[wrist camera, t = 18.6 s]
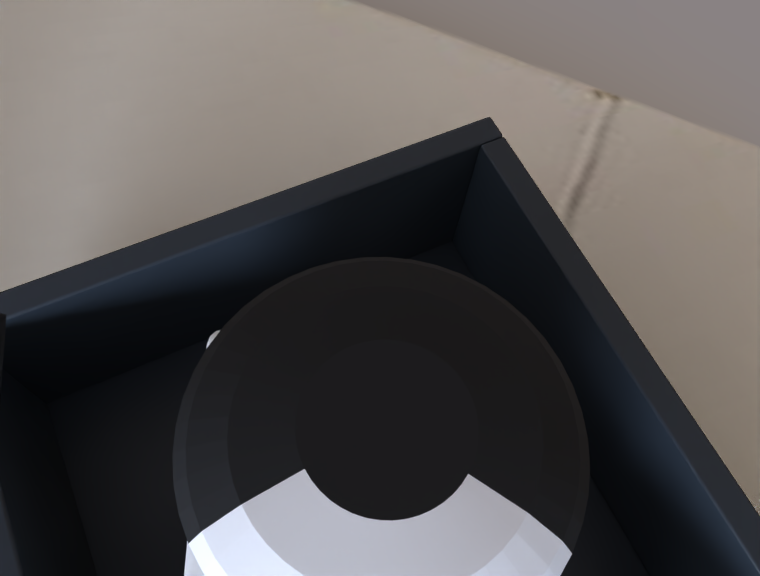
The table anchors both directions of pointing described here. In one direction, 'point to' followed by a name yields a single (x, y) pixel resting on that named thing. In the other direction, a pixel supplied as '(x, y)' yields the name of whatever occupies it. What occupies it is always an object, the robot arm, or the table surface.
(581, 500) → the medicine bottle
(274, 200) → the open box
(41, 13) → the table surface
